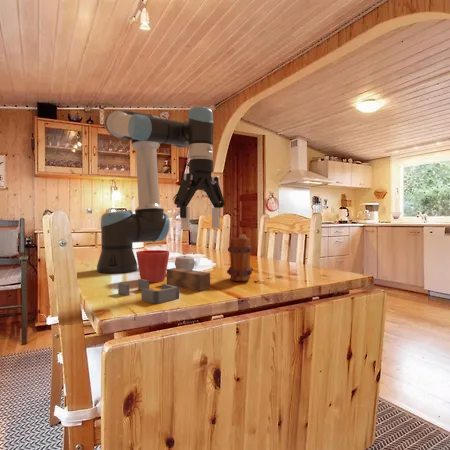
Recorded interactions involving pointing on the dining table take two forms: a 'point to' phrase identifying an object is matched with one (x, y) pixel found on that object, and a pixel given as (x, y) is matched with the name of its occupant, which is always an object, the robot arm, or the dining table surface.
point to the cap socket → (160, 294)
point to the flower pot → (152, 264)
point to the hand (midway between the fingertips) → (201, 228)
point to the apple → (185, 262)
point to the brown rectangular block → (188, 279)
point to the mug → (240, 259)
